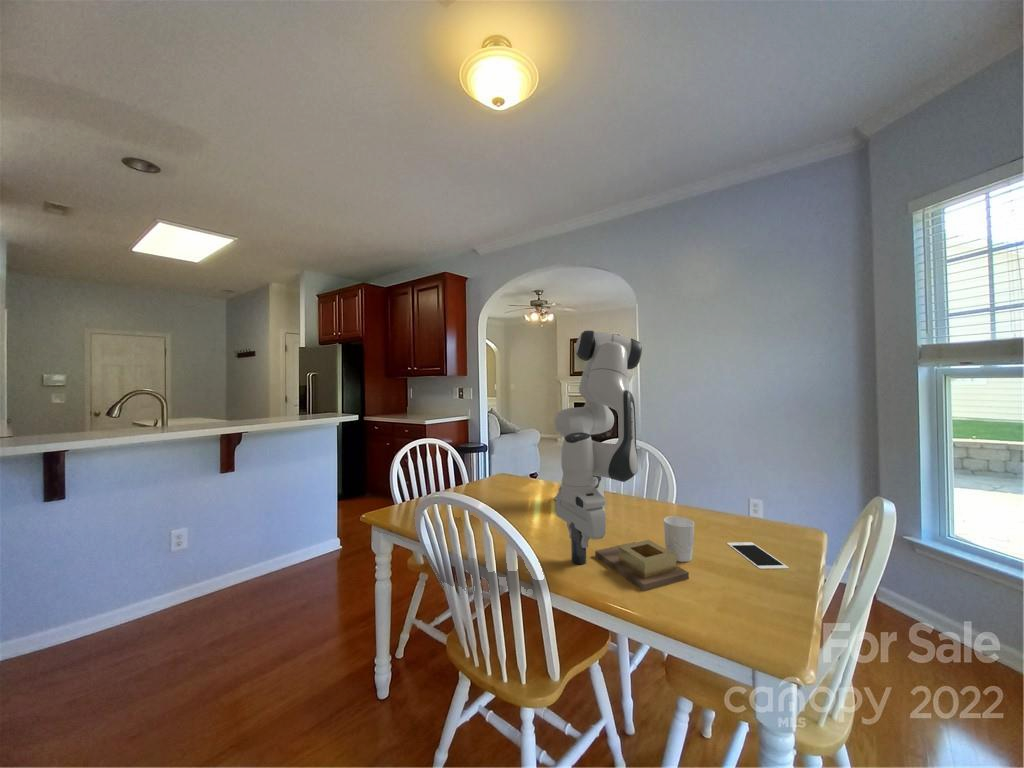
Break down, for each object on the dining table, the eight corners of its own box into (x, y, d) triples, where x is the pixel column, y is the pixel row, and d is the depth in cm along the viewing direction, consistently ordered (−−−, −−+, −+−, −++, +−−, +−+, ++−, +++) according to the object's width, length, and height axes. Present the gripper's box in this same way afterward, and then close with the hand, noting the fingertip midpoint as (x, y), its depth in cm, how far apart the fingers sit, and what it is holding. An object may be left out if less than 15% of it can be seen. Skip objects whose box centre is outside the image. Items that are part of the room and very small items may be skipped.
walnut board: (595, 555, 111) (595, 550, 111) (635, 547, 117) (634, 542, 117) (644, 590, 93) (643, 584, 93) (688, 578, 98) (688, 572, 98)
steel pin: (568, 559, 109) (568, 520, 109) (581, 557, 111) (580, 518, 111) (576, 566, 106) (575, 525, 105) (589, 563, 107) (588, 523, 107)
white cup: (676, 565, 105) (676, 527, 105) (658, 552, 113) (657, 518, 113) (701, 561, 107) (700, 524, 107) (681, 549, 115) (681, 515, 115)
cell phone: (752, 544, 118) (752, 542, 118) (789, 570, 102) (789, 567, 102) (726, 544, 118) (726, 542, 118) (759, 570, 102) (759, 568, 102)
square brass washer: (618, 561, 105) (618, 546, 105) (648, 554, 108) (648, 539, 108) (644, 578, 95) (644, 562, 95) (676, 570, 99) (676, 554, 99)
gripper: (549, 484, 116) (550, 531, 116) (588, 505, 97) (589, 560, 98) (568, 482, 119) (569, 528, 119) (610, 501, 100) (610, 556, 100)
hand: (578, 543), depth 108 cm, fingers closed on steel pin, 4 cm apart
